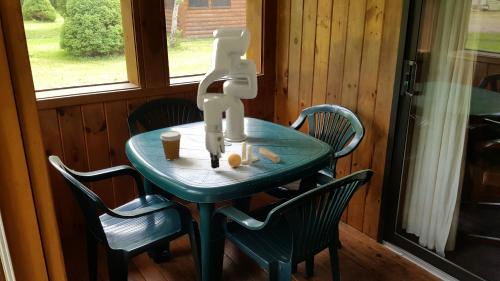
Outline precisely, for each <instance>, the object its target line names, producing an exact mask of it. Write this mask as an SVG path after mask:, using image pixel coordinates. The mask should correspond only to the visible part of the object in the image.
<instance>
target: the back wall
mask: <svg viewBox="0 0 500 281" xmlns="http://www.w3.org/2000/svg"><path fill="white" fill-rule="evenodd" d="M258 153H259V155H261V156H263V157H265V158H267V159H268V160H270V161H271V160H272V162H274V164H276V163H280V155H279V154H277V153H275V152H274V151H273V152H272V150H269V149H267V148H266V147H263V146H261V147H259V148H258Z"/></svg>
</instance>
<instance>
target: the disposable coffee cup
mask: <svg viewBox="0 0 500 281" xmlns="http://www.w3.org/2000/svg"><path fill="white" fill-rule="evenodd" d="M181 137H182V135H181V133H180V131H177V130H168V131H165V132H161V134H160V137H159V138H160V140H161V143H162V148H163V152H164V157H165V160H167V159H170V160H169V161H175V160H174V159H176V160H179V159H180V148H181V147H180V144H181Z"/></svg>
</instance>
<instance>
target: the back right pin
mask: <svg viewBox="0 0 500 281" xmlns="http://www.w3.org/2000/svg"><path fill="white" fill-rule="evenodd" d="M246 152H247V159H248V163H247V166H251V167H252V166H253V162H252V157H253V146H252V144H247V145H246Z"/></svg>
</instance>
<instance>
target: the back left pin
mask: <svg viewBox="0 0 500 281" xmlns="http://www.w3.org/2000/svg"><path fill="white" fill-rule="evenodd" d="M245 159H247V142H246V141H241V160H245Z"/></svg>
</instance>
